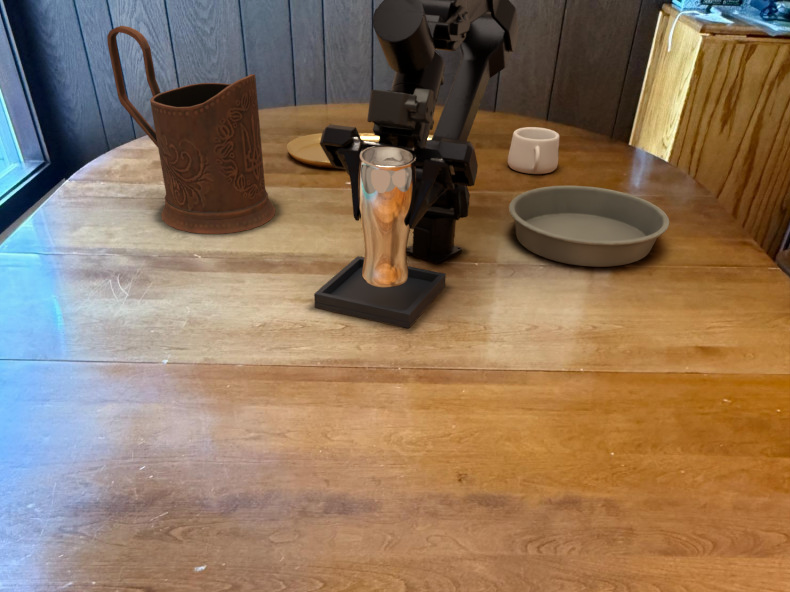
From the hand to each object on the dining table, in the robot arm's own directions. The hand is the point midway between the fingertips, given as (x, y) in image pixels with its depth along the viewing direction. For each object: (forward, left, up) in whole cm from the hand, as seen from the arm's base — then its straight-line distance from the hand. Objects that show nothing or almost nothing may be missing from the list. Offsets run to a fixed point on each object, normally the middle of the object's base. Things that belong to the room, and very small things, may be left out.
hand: (383, 223), depth 94 cm
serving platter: (-52, -43, -12) cm, 69 cm away
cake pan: (-41, +8, -12) cm, 44 cm away
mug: (-66, -16, -12) cm, 69 cm away
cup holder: (-10, -46, -12) cm, 48 cm away
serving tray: (-4, -3, -12) cm, 13 cm away
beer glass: (-2, -1, -8) cm, 8 cm away
